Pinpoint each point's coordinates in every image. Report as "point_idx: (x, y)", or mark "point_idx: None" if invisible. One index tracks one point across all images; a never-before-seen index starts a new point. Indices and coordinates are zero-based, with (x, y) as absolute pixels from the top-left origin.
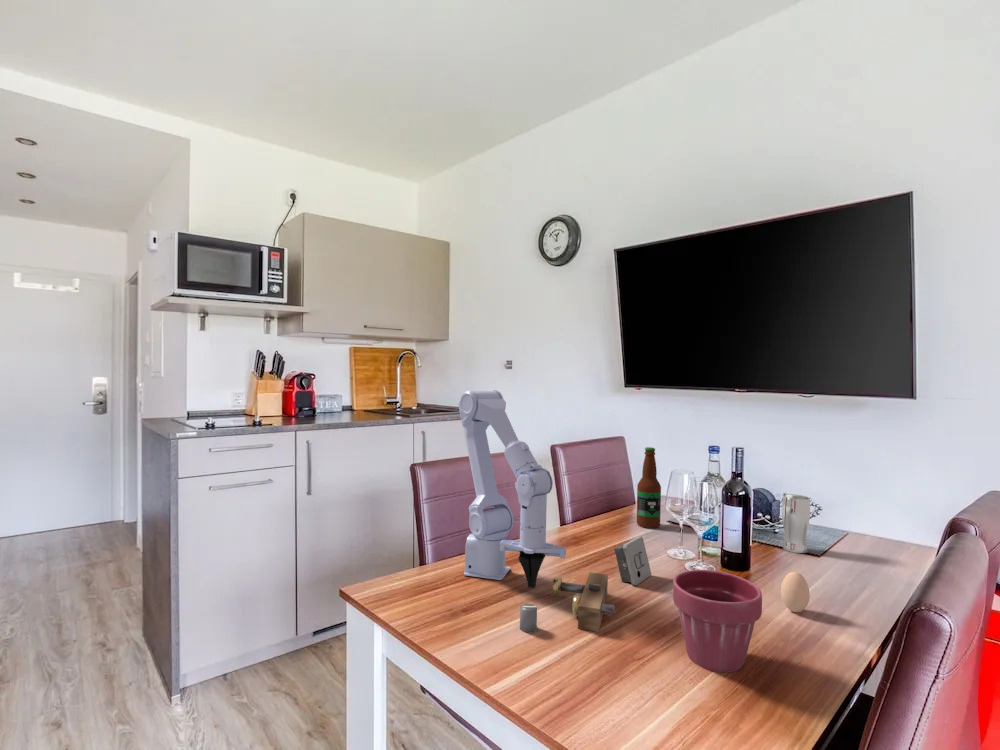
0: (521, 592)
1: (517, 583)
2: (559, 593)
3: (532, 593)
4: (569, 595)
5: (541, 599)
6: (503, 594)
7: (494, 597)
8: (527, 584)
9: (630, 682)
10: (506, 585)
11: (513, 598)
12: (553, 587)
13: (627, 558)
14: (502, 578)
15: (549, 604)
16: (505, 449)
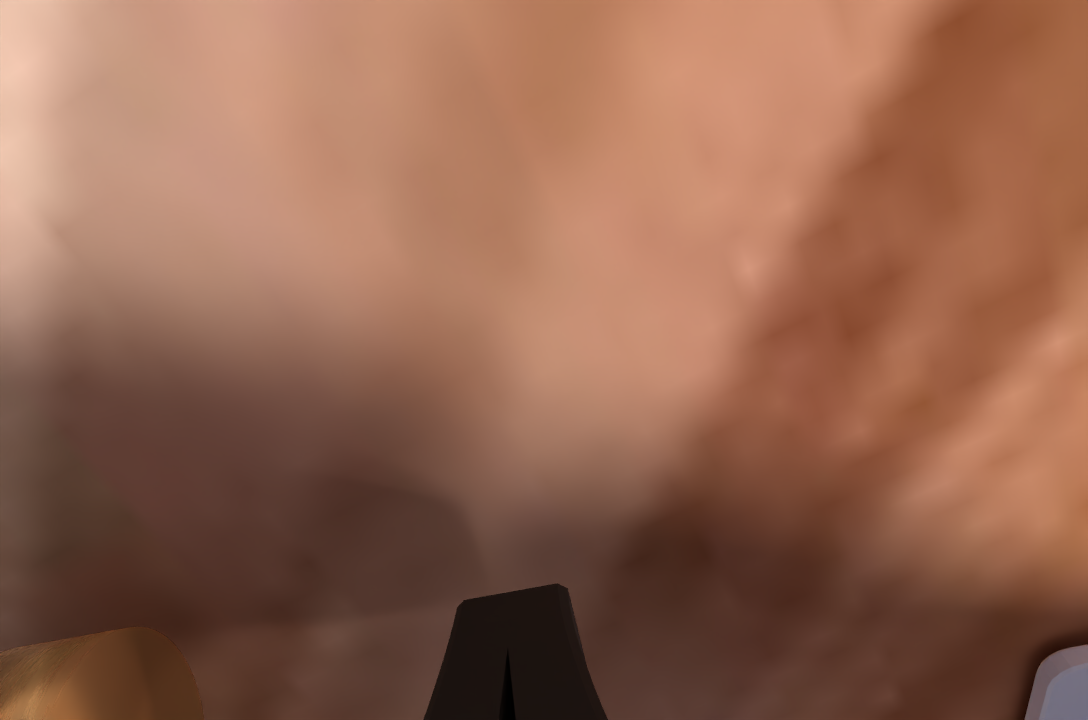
0: (666, 509)
1: (810, 678)
2: (10, 650)
3: (504, 553)
4: None
5: (279, 461)
6: (922, 325)
7: (1066, 137)
8: (571, 623)
9: None
10: (941, 581)
11: (710, 276)
12: (42, 707)
13: None
14: (1040, 685)
15: (54, 375)
16: None
